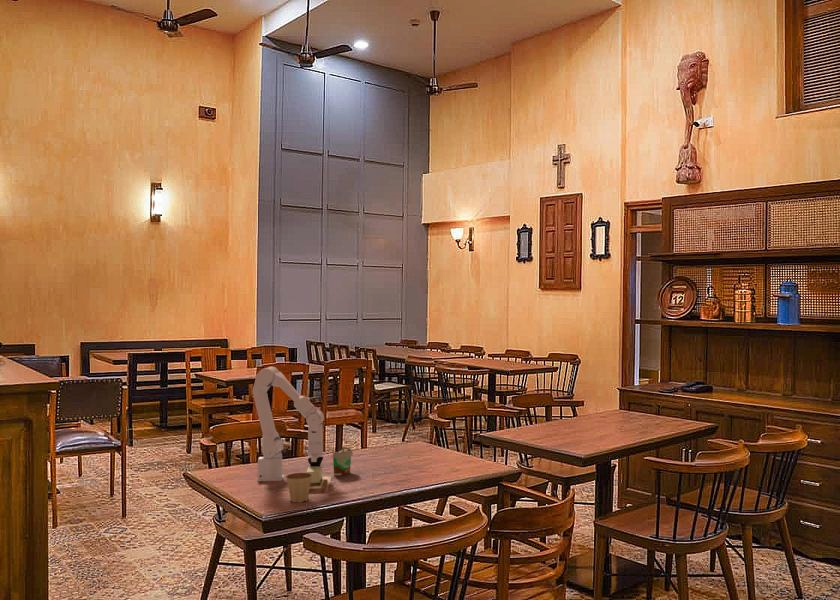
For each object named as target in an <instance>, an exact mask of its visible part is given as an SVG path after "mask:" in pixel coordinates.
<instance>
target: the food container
mask: <svg viewBox="0 0 840 600" xmlns="http://www.w3.org/2000/svg"><path fill="white" fill-rule="evenodd" d="M353 455H354V454H353V450H352V448H351V447H346V446H341V449H340V450H337V451H336V452H332V459H333V460H332V462H333V463H332V464H333V477H346V476H348V475H350V474H351V465H352V463H351V462H352V456H353Z"/></svg>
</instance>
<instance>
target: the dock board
mask: <svg viewBox="0 0 840 600" xmlns="http://www.w3.org/2000/svg"><path fill="white" fill-rule="evenodd" d="M331 480H332V476H322V481H320V485H318V482H317V483H310V488H309V494H311V493H312V494H313V493H315V494H316V493H323V494H324V493H328V489H329V487H330V484H331Z"/></svg>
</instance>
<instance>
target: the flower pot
mask: <svg viewBox="0 0 840 600" xmlns="http://www.w3.org/2000/svg"><path fill="white" fill-rule="evenodd" d="M312 476H313V475H312V474H310V473H306V472H294V473H293V472H292V473H289V474H287V475H285V479H286V482H287V484H288V485H287V486H288V491H289V499H290V501H291V502H293V503H304V502H307V501H308V500H309V498H310V497H309V496H310V493H309V488H310V481H311V477H312Z"/></svg>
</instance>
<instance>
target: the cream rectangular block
mask: <svg viewBox="0 0 840 600" xmlns="http://www.w3.org/2000/svg"><path fill="white" fill-rule="evenodd" d="M322 467H323V466H322V465H320V466H310V465H309V466H308V467H307V469H306V472H305V473H310V474H312V475H313V476H312V477H311V481H310V483H317V482H318V485H320V481H322V477H323V474H322V473H323V469H322Z"/></svg>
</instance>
